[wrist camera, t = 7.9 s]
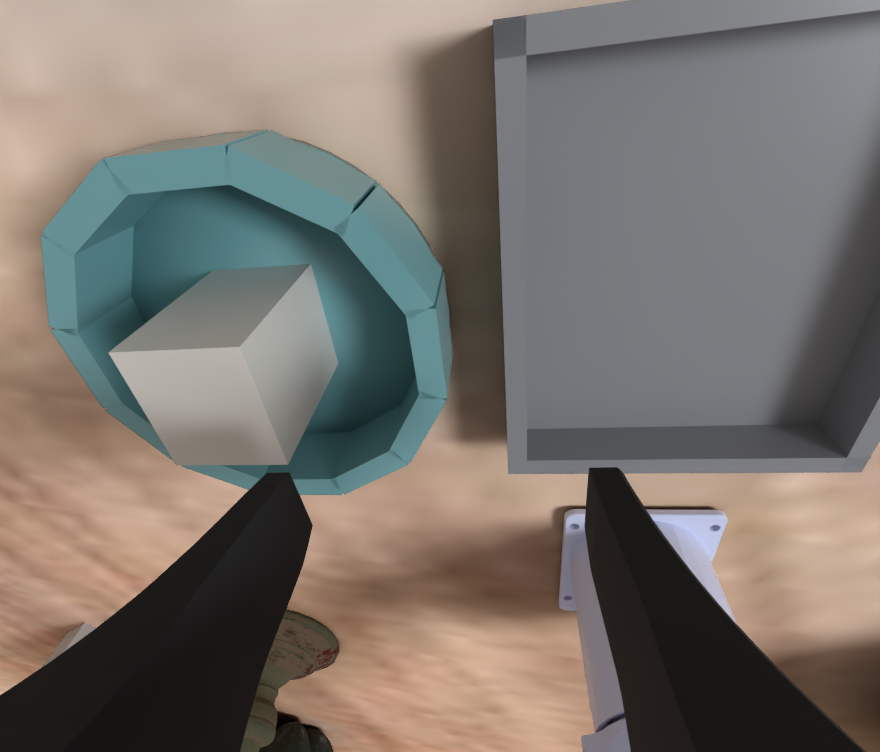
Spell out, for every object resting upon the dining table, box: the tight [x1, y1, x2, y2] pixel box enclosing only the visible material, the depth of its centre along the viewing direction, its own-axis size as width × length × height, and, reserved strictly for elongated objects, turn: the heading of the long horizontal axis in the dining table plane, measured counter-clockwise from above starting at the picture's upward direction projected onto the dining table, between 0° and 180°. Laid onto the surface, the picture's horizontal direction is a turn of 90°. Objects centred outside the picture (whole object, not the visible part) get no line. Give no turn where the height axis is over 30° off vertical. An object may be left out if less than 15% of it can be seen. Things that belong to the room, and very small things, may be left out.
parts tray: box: [493, 0, 880, 474], centre depth 16 cm, size 16×14×2 cm
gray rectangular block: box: [108, 264, 338, 465], centre depth 16 cm, size 4×4×6 cm
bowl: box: [41, 129, 453, 495], centre depth 18 cm, size 14×14×4 cm
